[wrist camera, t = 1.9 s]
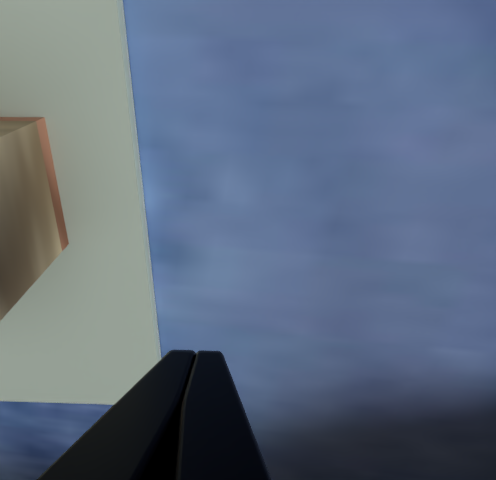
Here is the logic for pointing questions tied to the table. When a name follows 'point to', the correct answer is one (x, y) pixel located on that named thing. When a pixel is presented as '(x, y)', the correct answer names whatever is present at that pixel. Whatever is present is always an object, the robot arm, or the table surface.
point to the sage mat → (80, 208)
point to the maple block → (27, 207)
